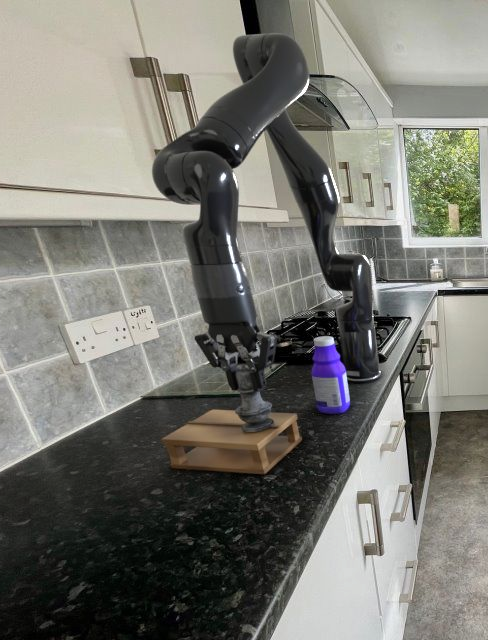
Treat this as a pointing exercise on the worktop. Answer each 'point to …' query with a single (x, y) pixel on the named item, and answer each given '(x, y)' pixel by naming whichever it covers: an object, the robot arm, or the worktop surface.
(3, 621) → the worktop surface
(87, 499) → the worktop surface
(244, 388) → the grey tall turned figure
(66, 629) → the worktop surface
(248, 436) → the oak rack
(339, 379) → the bottle
